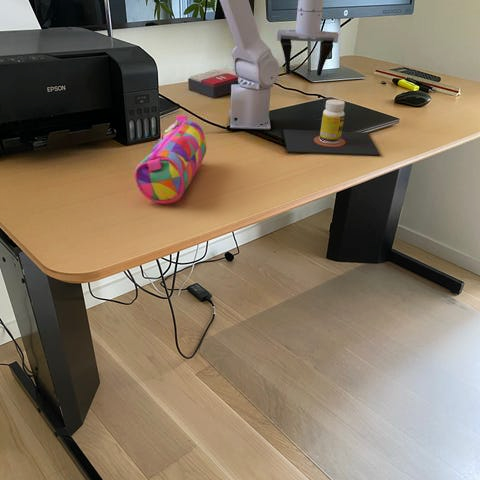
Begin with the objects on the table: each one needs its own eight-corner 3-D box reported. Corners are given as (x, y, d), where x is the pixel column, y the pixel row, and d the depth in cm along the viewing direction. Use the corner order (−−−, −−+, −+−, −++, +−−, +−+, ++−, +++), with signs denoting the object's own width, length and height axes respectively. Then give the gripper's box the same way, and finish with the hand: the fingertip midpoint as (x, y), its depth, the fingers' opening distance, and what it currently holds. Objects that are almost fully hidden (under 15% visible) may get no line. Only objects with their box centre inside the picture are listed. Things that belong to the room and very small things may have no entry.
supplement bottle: (339, 145, 112) (346, 105, 107) (318, 143, 113) (323, 103, 108) (340, 138, 116) (346, 99, 111) (320, 136, 117) (325, 97, 111)
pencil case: (162, 158, 104) (159, 113, 98) (207, 161, 103) (207, 116, 98) (134, 205, 87) (129, 154, 81) (188, 210, 87) (187, 158, 81)
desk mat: (287, 152, 109) (287, 150, 109) (283, 131, 120) (283, 128, 120) (379, 156, 109) (380, 153, 109) (367, 134, 120) (367, 131, 120)
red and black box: (187, 75, 142) (225, 65, 150) (188, 91, 145) (225, 80, 153) (213, 84, 136) (252, 72, 144) (214, 100, 139) (252, 88, 147)
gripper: (338, 8, 120) (330, 71, 128) (277, 6, 119) (273, 69, 128) (343, 13, 114) (334, 78, 123) (279, 10, 114) (274, 76, 122)
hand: (303, 74), depth 125 cm, fingers open, 7 cm apart
